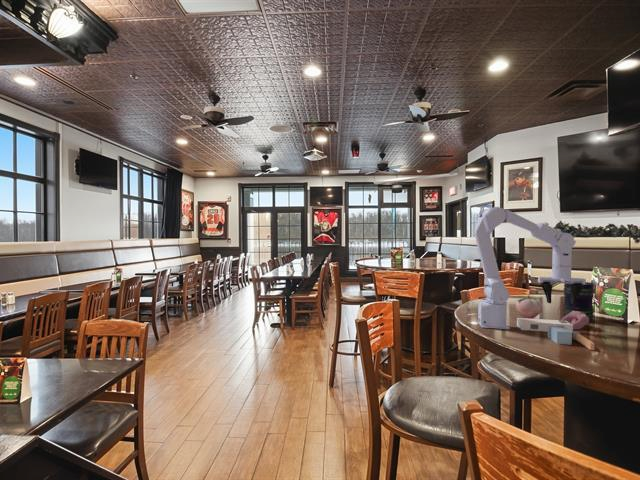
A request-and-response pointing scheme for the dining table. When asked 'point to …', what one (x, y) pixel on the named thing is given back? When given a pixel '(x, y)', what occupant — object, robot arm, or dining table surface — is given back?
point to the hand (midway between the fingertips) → (560, 303)
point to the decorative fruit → (528, 307)
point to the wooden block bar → (583, 340)
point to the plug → (560, 335)
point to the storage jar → (580, 300)
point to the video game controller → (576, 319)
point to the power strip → (541, 324)
